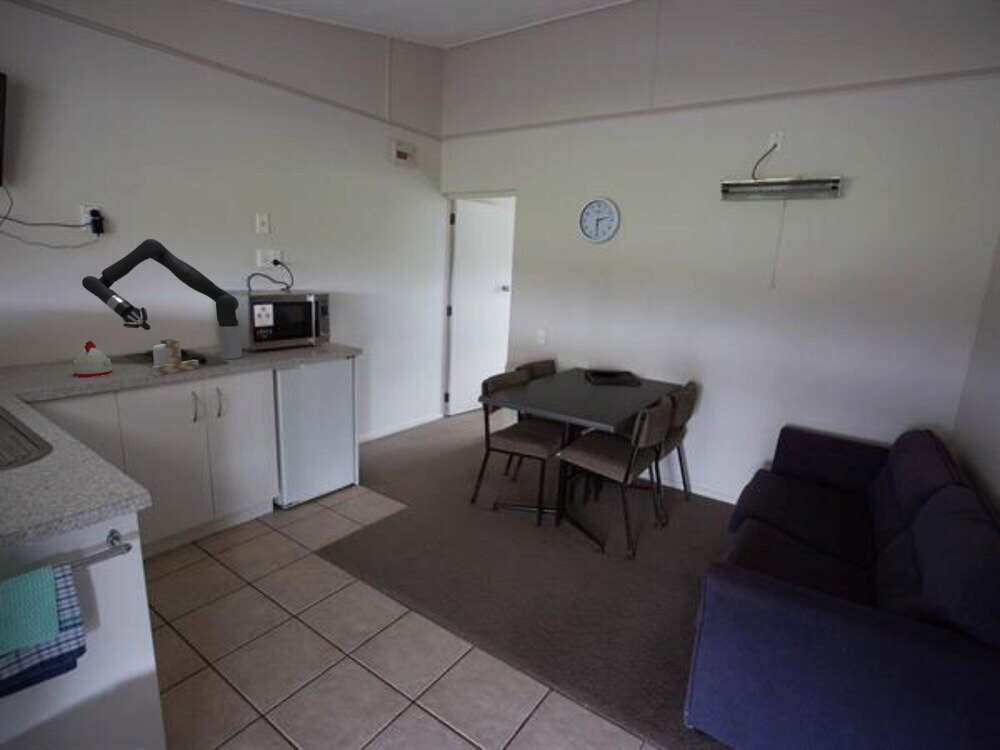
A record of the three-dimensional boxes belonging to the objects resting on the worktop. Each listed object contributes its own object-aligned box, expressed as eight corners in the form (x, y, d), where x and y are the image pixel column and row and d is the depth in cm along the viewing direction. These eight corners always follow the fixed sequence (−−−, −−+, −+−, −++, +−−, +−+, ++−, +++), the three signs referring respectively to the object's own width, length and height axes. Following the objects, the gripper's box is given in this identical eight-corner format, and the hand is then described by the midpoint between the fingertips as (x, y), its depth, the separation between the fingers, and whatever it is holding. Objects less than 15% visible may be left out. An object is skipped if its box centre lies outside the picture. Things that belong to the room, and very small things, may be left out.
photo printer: (180, 369, 249) (177, 343, 247) (174, 371, 245) (171, 345, 243) (159, 368, 250) (156, 343, 247) (153, 370, 246) (150, 344, 243)
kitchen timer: (67, 378, 226) (62, 343, 223) (83, 371, 239) (78, 338, 236) (105, 377, 230) (101, 343, 227) (118, 370, 243) (114, 338, 240)
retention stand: (189, 366, 256) (186, 337, 253) (198, 368, 253) (196, 338, 250) (147, 374, 238) (143, 342, 235) (157, 375, 235) (153, 343, 232)
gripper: (105, 313, 250) (134, 336, 251) (127, 294, 254) (156, 316, 254) (113, 318, 258) (141, 340, 258) (135, 299, 261) (162, 321, 262)
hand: (148, 328), depth 256 cm, fingers closed
